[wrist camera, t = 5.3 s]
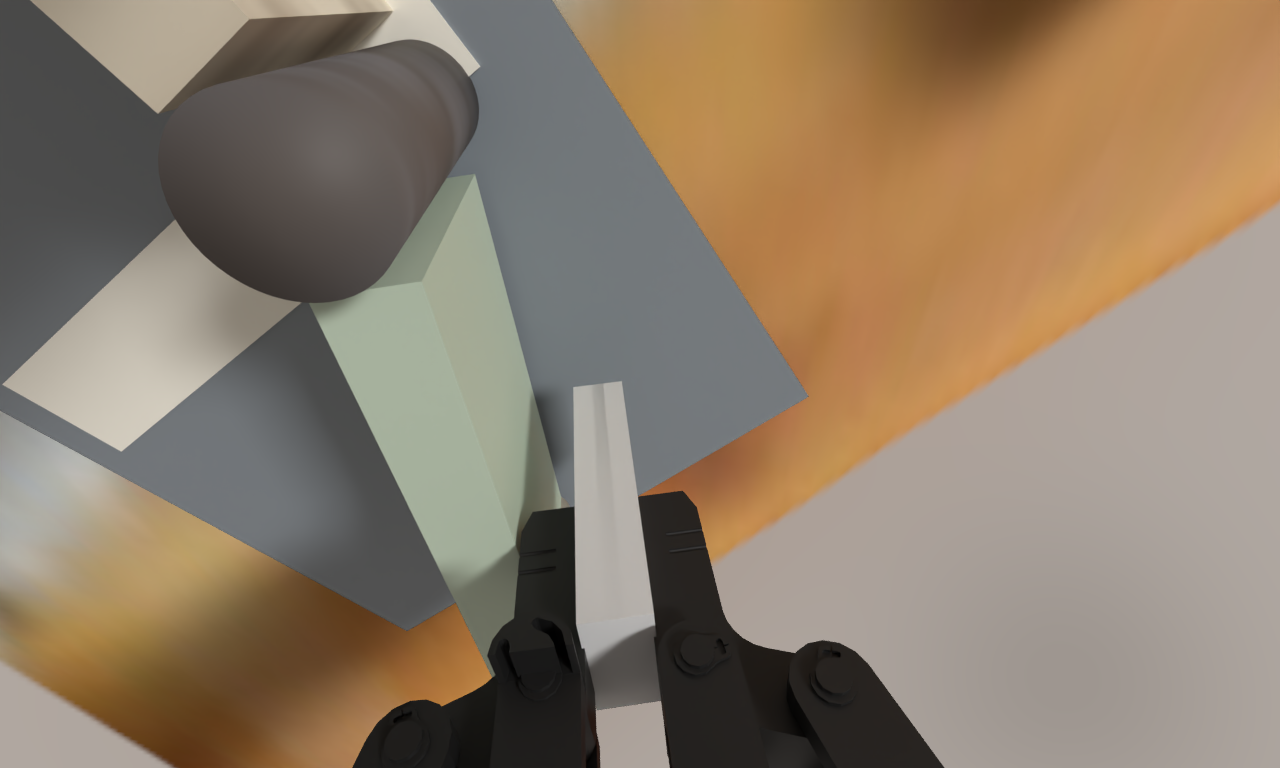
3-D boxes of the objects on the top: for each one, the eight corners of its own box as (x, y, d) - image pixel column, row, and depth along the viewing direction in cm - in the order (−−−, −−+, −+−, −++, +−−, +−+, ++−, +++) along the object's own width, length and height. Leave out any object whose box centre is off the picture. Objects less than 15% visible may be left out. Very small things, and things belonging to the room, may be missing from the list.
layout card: (-582, 68, 11) (-638, 70, 10) (-93, -994, 6) (-147, -1078, 6) (409, 620, 23) (406, 633, 22) (803, 387, 19) (809, 398, 18)
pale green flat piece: (395, 185, 13) (281, 314, 8) (483, 172, 13) (430, 291, 8) (518, 537, 20) (502, 734, 14) (575, 527, 20) (580, 720, 14)
